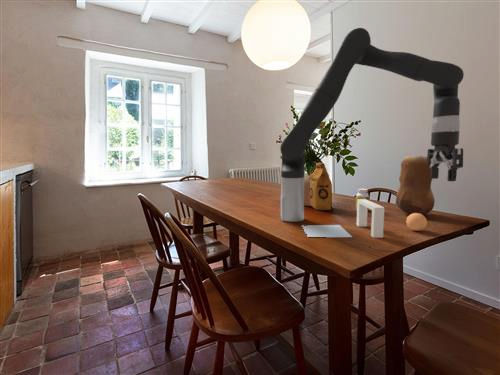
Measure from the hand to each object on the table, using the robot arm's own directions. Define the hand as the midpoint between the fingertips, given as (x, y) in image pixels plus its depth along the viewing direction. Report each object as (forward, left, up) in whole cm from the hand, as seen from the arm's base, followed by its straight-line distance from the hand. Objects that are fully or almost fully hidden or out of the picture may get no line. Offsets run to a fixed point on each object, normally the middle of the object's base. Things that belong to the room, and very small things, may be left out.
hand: (442, 179), depth 93 cm
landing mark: (-39, -1, -17) cm, 43 cm away
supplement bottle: (-14, +32, -18) cm, 39 cm away
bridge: (-24, -1, -17) cm, 30 cm away
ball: (-8, -1, -14) cm, 16 cm away
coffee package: (-32, +38, -18) cm, 53 cm away
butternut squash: (+4, +22, -17) cm, 28 cm away
